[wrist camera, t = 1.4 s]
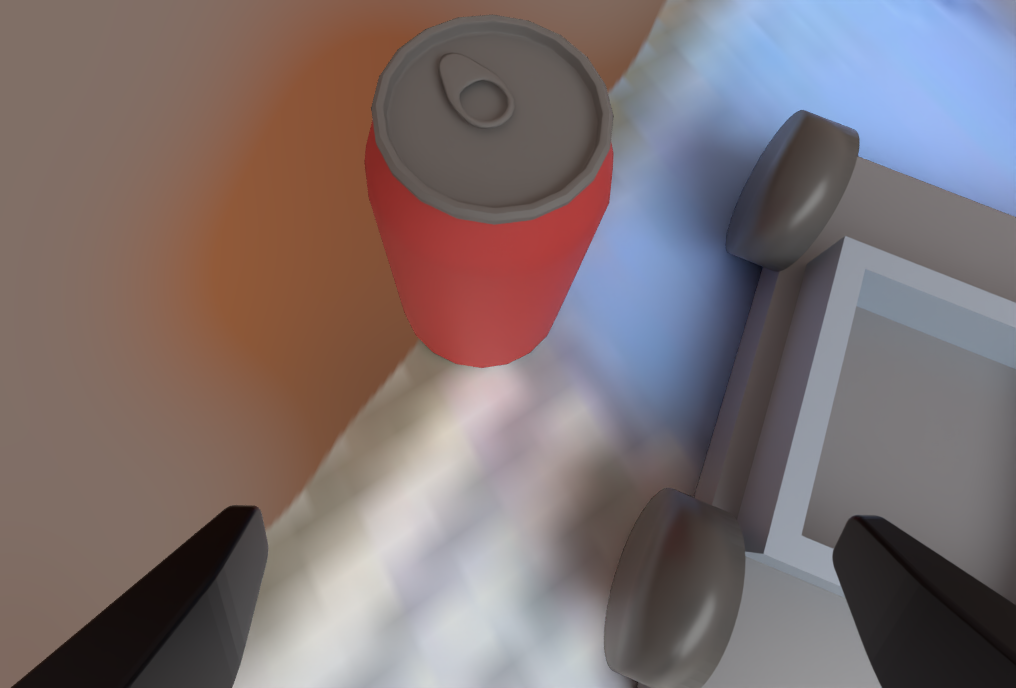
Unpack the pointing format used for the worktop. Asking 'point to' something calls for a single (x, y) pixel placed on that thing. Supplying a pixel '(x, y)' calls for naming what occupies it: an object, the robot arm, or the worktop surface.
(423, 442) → the worktop surface
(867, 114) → the worktop surface
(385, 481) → the worktop surface
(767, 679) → the chassis
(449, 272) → the beer can
